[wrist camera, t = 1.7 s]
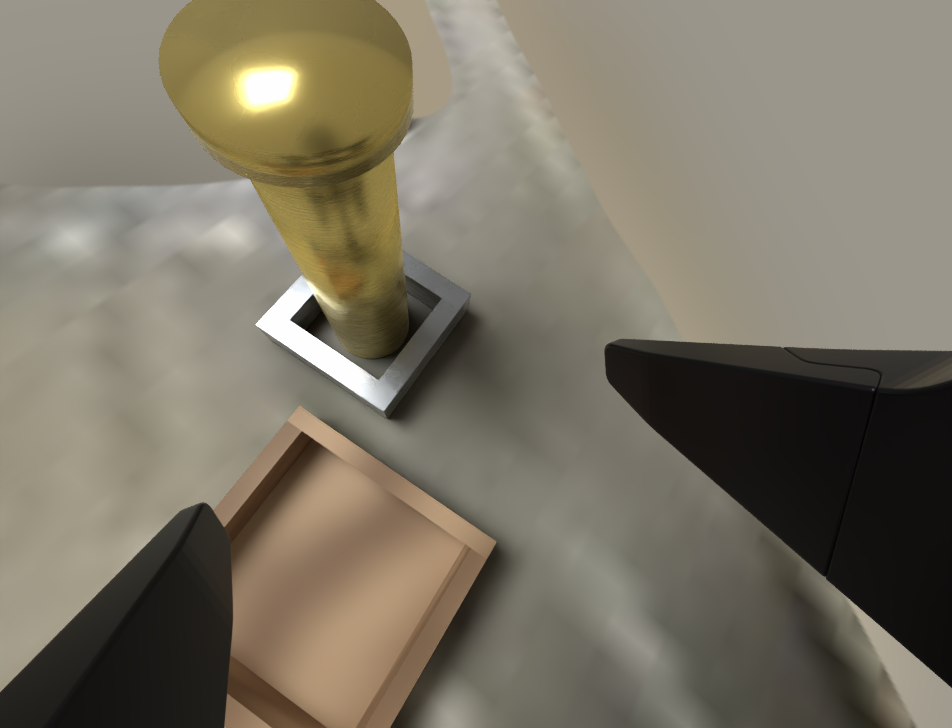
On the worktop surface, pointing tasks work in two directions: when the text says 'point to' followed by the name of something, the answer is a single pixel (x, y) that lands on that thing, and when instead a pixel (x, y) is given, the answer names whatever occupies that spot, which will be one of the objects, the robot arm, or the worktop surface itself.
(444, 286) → the block
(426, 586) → the tray
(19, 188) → the worktop surface
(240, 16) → the pin
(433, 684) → the worktop surface
